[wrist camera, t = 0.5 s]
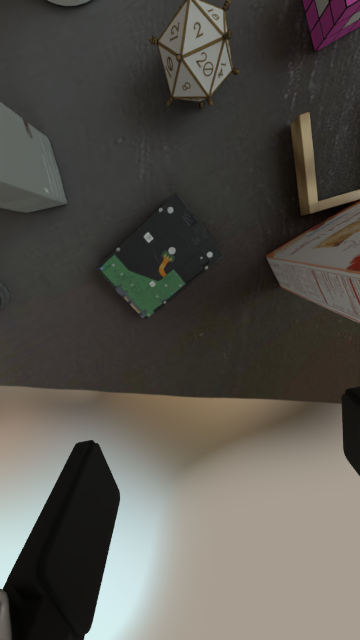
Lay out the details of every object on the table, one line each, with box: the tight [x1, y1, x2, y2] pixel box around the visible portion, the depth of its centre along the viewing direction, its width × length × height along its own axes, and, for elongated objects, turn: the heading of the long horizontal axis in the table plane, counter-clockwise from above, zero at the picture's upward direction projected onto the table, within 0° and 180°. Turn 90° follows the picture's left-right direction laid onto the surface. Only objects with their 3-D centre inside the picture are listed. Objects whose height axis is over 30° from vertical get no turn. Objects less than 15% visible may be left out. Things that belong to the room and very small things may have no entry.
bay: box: [290, 112, 360, 216], centre depth 30 cm, size 11×12×2 cm
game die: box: [149, 0, 240, 109], centre depth 25 cm, size 9×8×10 cm
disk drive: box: [96, 193, 224, 319], centre depth 34 cm, size 10×3×15 cm
